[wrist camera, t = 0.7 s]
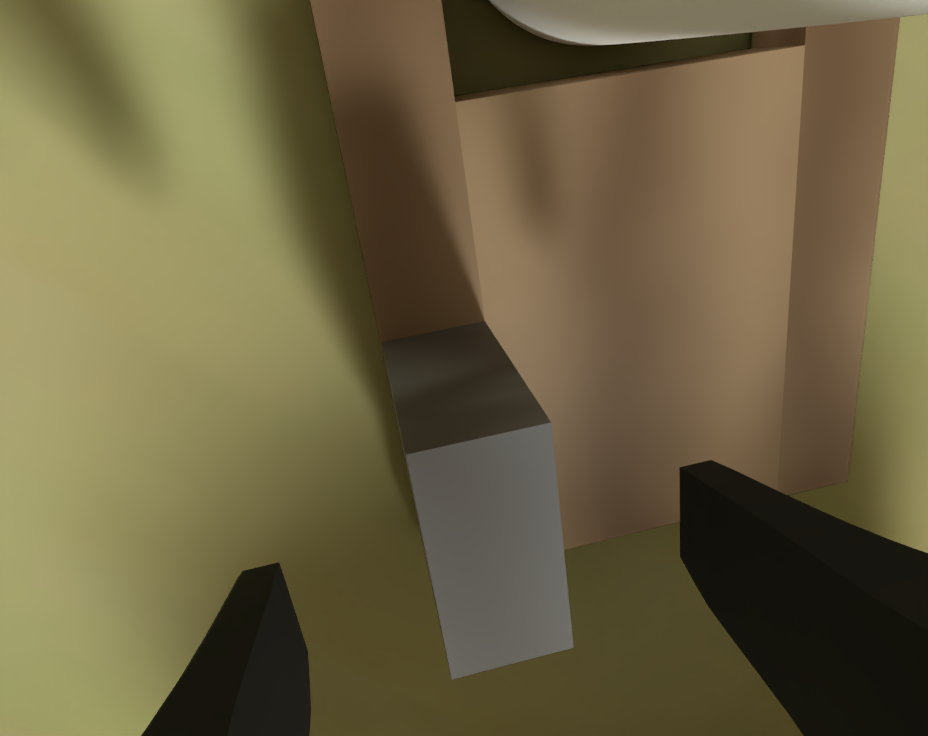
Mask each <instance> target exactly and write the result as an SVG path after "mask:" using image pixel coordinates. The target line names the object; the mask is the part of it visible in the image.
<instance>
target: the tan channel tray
mask: <svg viewBox="0 0 928 736" xmlns="http://www.w3.org/2000/svg"><path fill="white" fill-rule="evenodd" d="M310 4H311V9H312V13H313V18H314V23H315V28H316V33H317V38H318V42H319V47H320V52H321V57H322V62H323V67H324V71H325V76H326V81H327V86H328V91H329V95H330V100H331V105H332V110H333V115H334V120H335V124H336V129H337V134H338V139H339V144H340V149H341V153H342V158H343V163H344V168H345V173H346V178H347V182H348V187H349V192H350V197H351V202H352V207H353V211H354V216H355V221H356V226H357V231H358V235H359V240H360V245H361V250H362V255H363V260H364V264H365V269H366V274H367V279H368V284H369V289H370V293H371V298H372V303H373V308H374V313H375V318H376V322H377V327H378V332H379V337H380V342H381V346H382V351H383V356H384V361H385V366H386V371H387V375H388V380H389V385H390V390H391V395H392V400H393V404H394V409H395V414H396V419H397V424H398V429H399V433H400V438H401V443H402V448H403V453H404V458H405V462H406V467H407V472H408V477H409V482H410V486H411V491H412V496H413V501H414V506H415V511H416V515H417V520H418V525H419V530H420V535H421V540H422V544H423V549H424V554H425V558H426V563H427V568H428V572H429V577H430V582H431V584H432V589H433V593H434V598H435V603H436V607H437V612H438V617H439V621H440V626H441V631H442V635H443V640H444V645H445V649H446V654H447V659H448V663H449V668H450V673H451V677H452V679H456V678H460V677H464V676H467V675H471V674H475V673H479V672H483V671H487V670H490V669H494V668H498V667H502V666H506V665H510V664H513V663H517V662H521V661H525V660H529V659H532V658H536V657H540V656H544V655H548V654H552V653H555V652H559V651H563V650H567V649H571V648H574V646H573V636H572V625H571V615H570V605H569V595H568V585H567V575H566V565H565V555H564V550H567V549H571V548H576V547H580V546H584V545H588V544H592V543H596V542H600V541H604V540H608V539H612V538H617V537H621V536H625V535H629V534H633V533H637V532H641V531H645V530H649V529H653V528H657V527H662V526H666V525H670V524H674V523H678V522H680V472H679V467H683V466H687V465H691V464H696V463H700V462H704V461H708V460H713V461H715V462H717V463H720V464H722V465H724V466H727V467H729V468H731V469H733V470H735V471H737V472H740V473H742V474H744V475H746V476H748V477H750V478H752V479H754V480H756V481H758V482H760V483H762V484H765V485H767V486H769V487H771V488H773V489H775V490H777V491H779V492H781V493H783V494H785V495H788V496H789V495H793V494H797V493H801V492H805V491H809V490H813V489H817V488H821V487H825V486H829V485H834V484H838V483H842V482H846V481H848V473H849V465H850V456H851V447H852V438H853V429H854V420H855V411H856V403H857V394H858V385H859V376H860V367H861V358H862V349H863V341H864V332H865V323H866V314H867V305H868V296H869V287H870V279H871V270H872V261H873V252H874V243H875V234H876V225H877V217H878V208H879V199H880V190H881V181H882V172H883V163H884V155H885V146H886V137H887V128H888V119H889V110H890V102H891V93H892V84H893V75H894V66H895V57H896V48H897V40H898V31H899V22H900V17H895V18H886V19H877V20H867V21H858V22H849V23H839V24H829V25H819V26H809V27H799V28H789V29H778V30H768V31H758V32H752V48H750V49H743V50H737V51H731V52H725V53H719V54H713V55H706V56H700V57H694V58H688V59H682V60H676V61H669V62H663V63H657V64H651V65H645V66H639V67H632V68H626V69H620V70H614V71H608V72H602V73H595V74H589V75H583V76H577V77H571V78H565V79H558V80H552V81H546V82H540V83H534V84H528V85H521V86H515V87H509V88H503V89H497V90H491V91H484V92H478V93H472V94H466V95H460V96H454V90H453V82H452V75H451V67H450V60H449V53H448V45H447V38H446V31H445V23H444V16H443V9H442V1H441V0H310Z"/></svg>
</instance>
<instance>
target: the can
mask: <svg viewBox="0 0 928 736" xmlns="http://www.w3.org/2000/svg"><path fill="white" fill-rule="evenodd" d="M489 1H490V2H491V4H492V5H493V6H494V7H495V8H496V9H497V10H498V11H499V12H500V13H502V14H503V15H504V16H505V17H506V18H508V19H509V20H510V21H512V22H513V23H514V24H516V25H517V26H519V27H521V28H522V29H524V30H526V31H528V32H530V33H532V34H534V35H536V36H539V37H541V38H544V39H547V40H550V41H554V42H558V43H563V44H569V45H579V46H596V45H613V44H626V43H638V42H650V41H661V40H672V39H683V38H694V37H705V36H716V35H726V34H737V33H747V32H758V31H768V30H778V29H789V28H799V27H809V26H819V25H829V24H839V23H849V22H858V21H867V20H877V19H886V18H895V17H905V16H914V15H923V14H928V0H489Z"/></svg>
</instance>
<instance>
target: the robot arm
mask: <svg viewBox="0 0 928 736" xmlns="http://www.w3.org/2000/svg"><path fill="white" fill-rule="evenodd" d="M679 472H680V557H681V559H682V561H683V563H684V564H685V566H686V568H687V570H688V572H689V574H690V575H691V577H692V579H693V581H694V583H695V584H696V586H697V588H698V590H699V591H700V593H701V595H702V596H703V598H704V600H705V602H706V603H707V605H708V606H709V608H710V609H711V611H712V612H713V613H714V615H715V616H716V617H717V619H718V620H719V622H720V623H721V624H722V626H723V627H724V628H725V630H726V631H727V632H728V634H729V635H730V636H731V638H732V639H733V640H734V642H735V643H736V644H737V646H738V647H739V648H740V650H741V651H742V652H743V654H744V655H745V656H746V658H747V659H748V660H749V662H750V663H751V664H752V666H753V667H754V668H755V670H756V671H757V672H758V674H759V675H760V676H761V678H762V679H763V680H764V682H765V683H766V684H767V686H768V687H769V688H770V690H771V691H772V692H773V694H774V695H775V696H776V698H777V699H778V700H779V702H780V703H781V704H782V705H783V707H784V708H785V709H786V711H787V712H788V714H789V715H790V717H791V718H792V719H793V721H794V722H795V724H796V725H797V727H798V728H799V730H800V731H801V732H802V734H803V735H804V736H928V553H925V552H922V551H919V550H916V549H913V548H911V547H908V546H905V545H902V544H900V543H897V542H894V541H892V540H889V539H886V538H884V537H882V536H879V535H877V534H874V533H872V532H869V531H867V530H864V529H862V528H859V527H857V526H854V525H852V524H850V523H847V522H845V521H843V520H840V519H838V518H836V517H833V516H831V515H829V514H827V513H824V512H822V511H820V510H818V509H815V508H813V507H811V506H809V505H807V504H805V503H802V502H800V501H798V500H796V499H794V498H792V497H790V496H788V495H785V494H783V493H781V492H779V491H777V490H775V489H773V488H771V487H769V486H767V485H765V484H762V483H760V482H758V481H756V480H754V479H752V478H750V477H748V476H746V475H744V474H742V473H740V472H737V471H735V470H733V469H731V468H729V467H727V466H724V465H722V464H720V463H717V462H715V461H713V460H708V461H704V462H700V463H696V464H691V465H687V466H683V467H679ZM310 715H311V703H310V681H309V664H308V651H307V647H306V644H305V641H304V638H303V635H302V632H301V629H300V626H299V623H298V619H297V616H296V613H295V610H294V607H293V604H292V601H291V598H290V595H289V591H288V588H287V585H286V582H285V579H284V576H283V573H282V570H281V567H280V563H275V564H270V565H266V566H262V567H258V568H254V569H249V570H245V571H242V573H241V574H240V576H239V577H238V579H237V580H236V582H235V584H234V586H233V588H232V589H231V591H230V593H229V595H228V597H227V599H226V600H225V602H224V604H223V606H222V608H221V610H220V611H219V613H218V615H217V617H216V618H215V620H214V622H213V624H212V625H211V627H210V629H209V631H208V633H207V634H206V636H205V638H204V639H203V641H202V643H201V644H200V646H199V648H198V649H197V651H196V653H195V654H194V656H193V658H192V659H191V661H190V663H189V664H188V666H187V668H186V669H185V671H184V673H183V674H182V676H181V677H180V679H179V680H178V682H177V684H176V685H175V687H174V688H173V690H172V691H171V693H170V694H169V696H168V697H167V699H166V700H165V702H164V703H163V705H162V706H161V707H160V709H159V710H158V712H157V713H156V715H155V716H154V718H153V719H152V721H151V722H150V724H149V725H148V727H147V728H146V730H145V731H144V732H143V734H142V735H141V736H309V732H310Z"/></svg>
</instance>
